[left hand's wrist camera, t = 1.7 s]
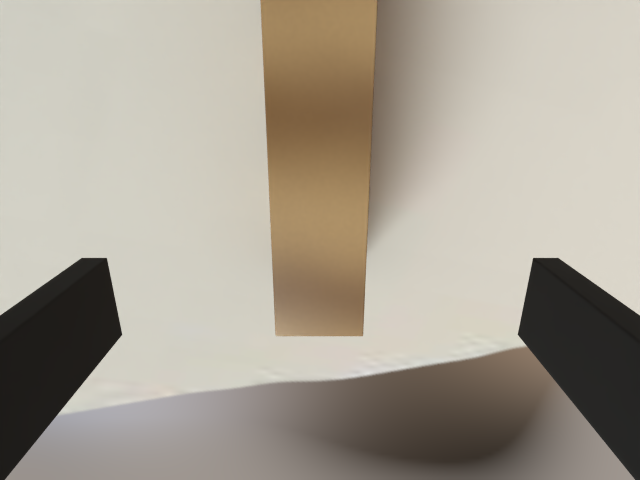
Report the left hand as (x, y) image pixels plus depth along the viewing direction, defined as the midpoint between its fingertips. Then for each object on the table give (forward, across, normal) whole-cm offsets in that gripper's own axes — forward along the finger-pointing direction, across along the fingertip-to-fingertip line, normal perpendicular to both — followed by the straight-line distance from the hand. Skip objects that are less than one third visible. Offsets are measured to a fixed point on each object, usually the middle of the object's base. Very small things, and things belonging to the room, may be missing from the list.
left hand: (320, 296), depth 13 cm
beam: (+16, 0, -22) cm, 27 cm away
